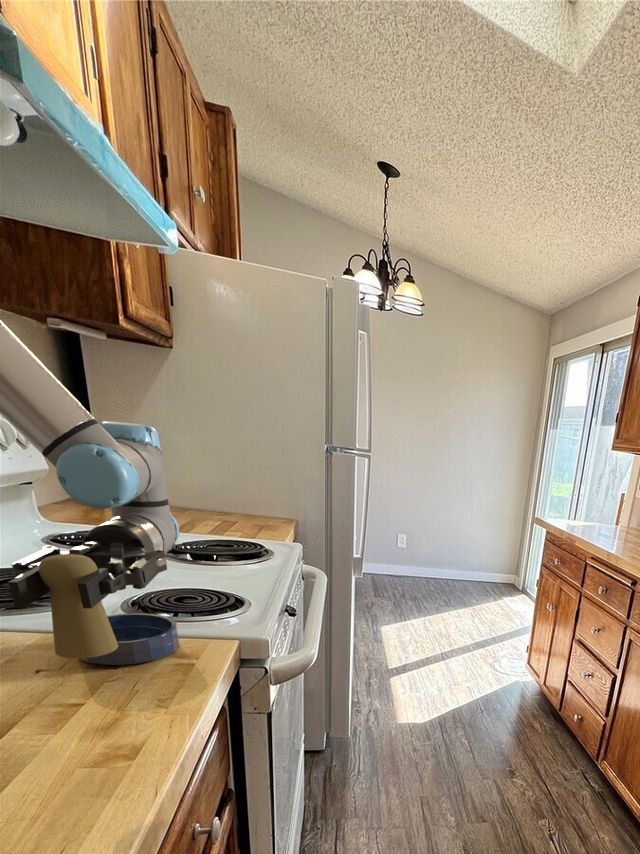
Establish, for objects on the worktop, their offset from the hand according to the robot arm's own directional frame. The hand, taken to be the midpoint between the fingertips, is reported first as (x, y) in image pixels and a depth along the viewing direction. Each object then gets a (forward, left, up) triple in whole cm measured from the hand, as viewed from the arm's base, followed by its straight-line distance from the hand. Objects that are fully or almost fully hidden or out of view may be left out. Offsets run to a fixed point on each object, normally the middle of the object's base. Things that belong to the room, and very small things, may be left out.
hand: (51, 595), depth 58 cm
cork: (-1, +5, -8) cm, 10 cm away
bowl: (-2, +18, -14) cm, 23 cm away
